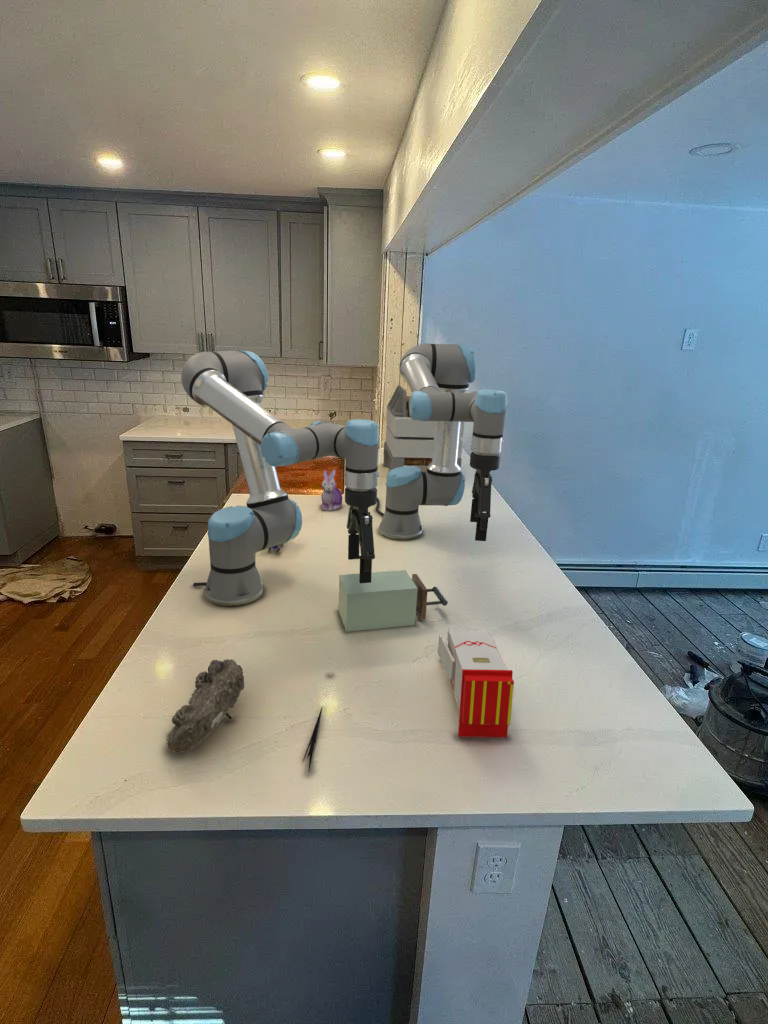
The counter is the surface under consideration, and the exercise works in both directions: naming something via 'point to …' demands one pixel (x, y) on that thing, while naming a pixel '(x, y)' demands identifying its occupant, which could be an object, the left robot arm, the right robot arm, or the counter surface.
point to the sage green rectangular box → (377, 601)
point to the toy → (478, 682)
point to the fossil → (206, 705)
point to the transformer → (409, 435)
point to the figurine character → (276, 547)
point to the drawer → (422, 597)
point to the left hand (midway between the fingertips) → (359, 570)
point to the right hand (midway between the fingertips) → (477, 530)
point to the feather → (313, 740)
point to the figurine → (330, 493)
